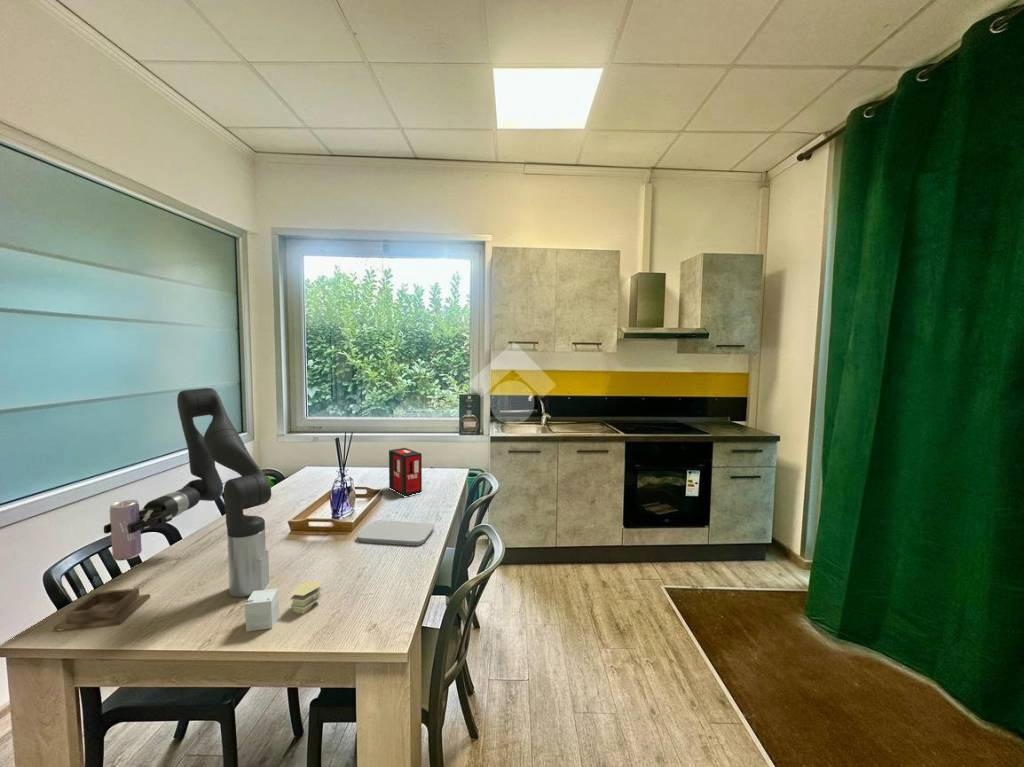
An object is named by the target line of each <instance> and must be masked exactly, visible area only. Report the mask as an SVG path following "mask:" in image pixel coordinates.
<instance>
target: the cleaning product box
mask: <svg viewBox="0 0 1024 767" xmlns="http://www.w3.org/2000/svg"><path fill="white" fill-rule="evenodd" d="M422 457H423V456H422V453H421V452H418V451H415V450H412V449H409V448H406V447H402V448H394V449H389V450H388V477H389V479H388V480H389V482H388V483H389V484H388V486H389V488H391V489H393V490H395V491H396V492H398V493H400V494H402V495H404V496H409V495H412V494H416V493H420V492H423V490H422V489H423V488H422V486H423V485H422V483H423V482H422V481H423V477H422V475H423V474H422V473H423V472H422V465H423V464H422V462H423V460H422V459H423V458H422ZM389 488H388V489H389ZM396 492H395V493H396ZM398 493H397V494H398ZM400 494H399V495H400ZM402 495H401V496H402ZM404 496H403V497H404ZM409 497H410V496H409Z"/></svg>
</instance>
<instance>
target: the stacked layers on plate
mask: <svg viewBox="0 0 1024 767" xmlns="http://www.w3.org/2000/svg"><path fill="white" fill-rule="evenodd" d="M322 585H323V584H322V583H321V582H320V581H305V582H302V583H300V584H299V585H298V586H297V587H296V588H295V589H293V591H292V592H291V593H290V595H292V596H291V597H290V600H291V601H292V604H291V605H290V607H291V608H292V612H293V613H296V614H297V613H298V614H303V615H304V614H305V613H307V612H308V611H309V609H311V608H312V607H314V606H313V604H314V603H316V602H318V601H319V600H321V598H323V596H322V594H321V591H322V590H323V588H322V587H321V586H322Z"/></svg>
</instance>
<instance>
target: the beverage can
mask: <svg viewBox="0 0 1024 767" xmlns="http://www.w3.org/2000/svg"><path fill="white" fill-rule="evenodd" d="M139 510H140V504H139V501H138V500H137V499H126V500H121V501H117V502H114V503H111V504H110V508H109V524H111V532H110V534H111V536H110V537H111V550H112V552H111V553H112V558H113V560H114V561H126V560H130V559H133V558H136V557H138V556H139V555H140V554H141V553H142V551H143V550H142V549H143V548H142V534H141V531H142V529H141V530H139V531H136V532H134V533H129V532H128V527H129V526H130V525H132V524H134V523H136V522H138V521H140V514H139Z"/></svg>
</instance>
